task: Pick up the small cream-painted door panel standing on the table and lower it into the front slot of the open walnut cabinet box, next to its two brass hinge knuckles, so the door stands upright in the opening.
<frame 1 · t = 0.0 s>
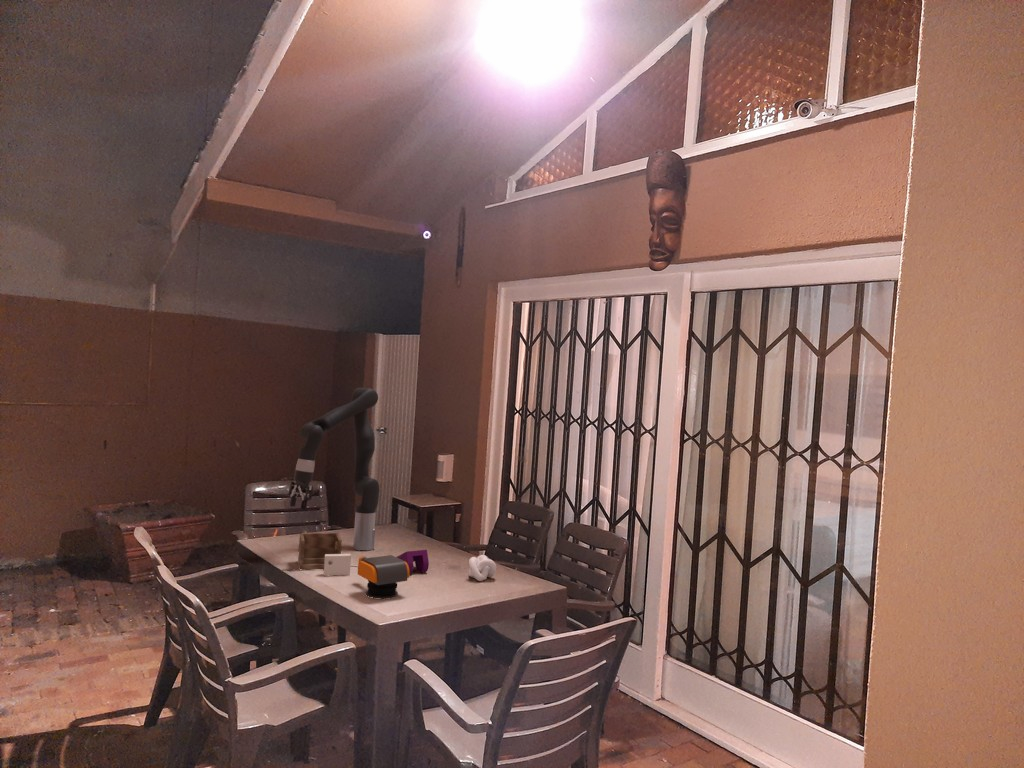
hand: (297, 507, 296), 22 cm above the table, tool pointing down, fingers open, 8 cm apart
door: (336, 574, 278), on the table
sander: (375, 590, 261), on the table
white knot: (479, 579, 285), on the table
cabinet: (318, 565, 290), on the table
mounting bracket: (408, 570, 293), on the table
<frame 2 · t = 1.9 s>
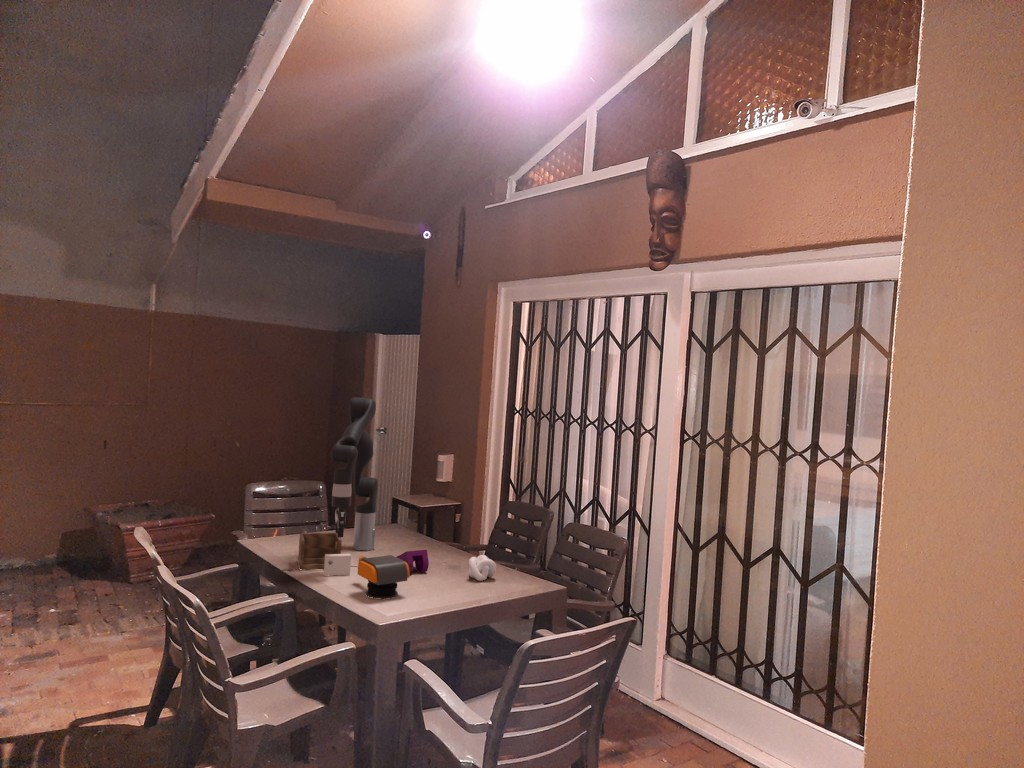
hand: (339, 534, 278), 16 cm above the table, tool pointing down, fingers open, 8 cm apart
nothing on the table moved.
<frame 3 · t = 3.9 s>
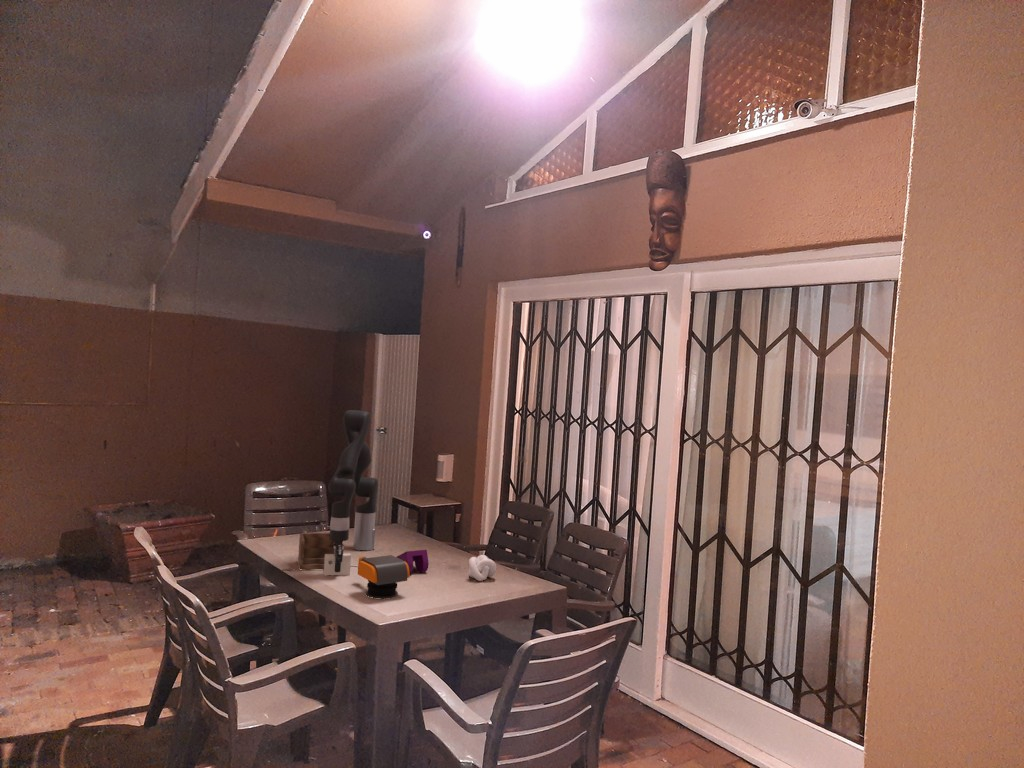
hand: (337, 570, 278), 2 cm above the table, tool pointing down, fingers closed on door, 3 cm apart
door: (336, 574, 278), on the table, touching gripper
everything else where it was.
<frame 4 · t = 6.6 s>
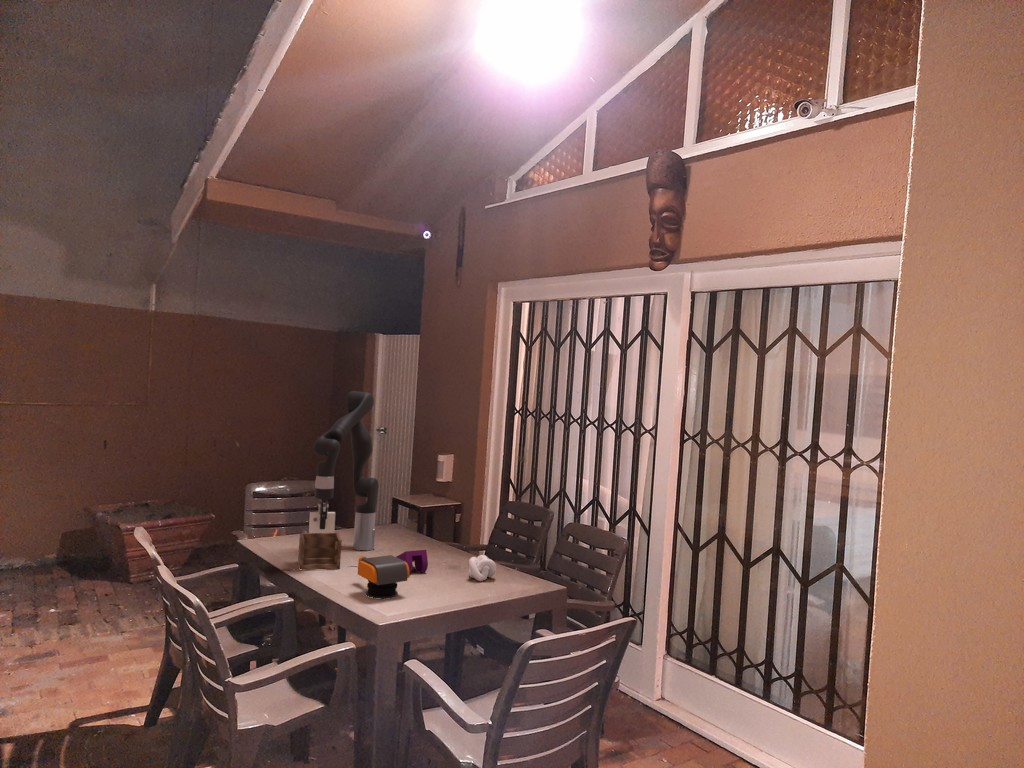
hand: (321, 528, 287), 16 cm above the table, tool pointing down, fingers closed on door, 3 cm apart
door: (321, 531, 287), point 15 cm above the table, touching gripper
everything else where it was.
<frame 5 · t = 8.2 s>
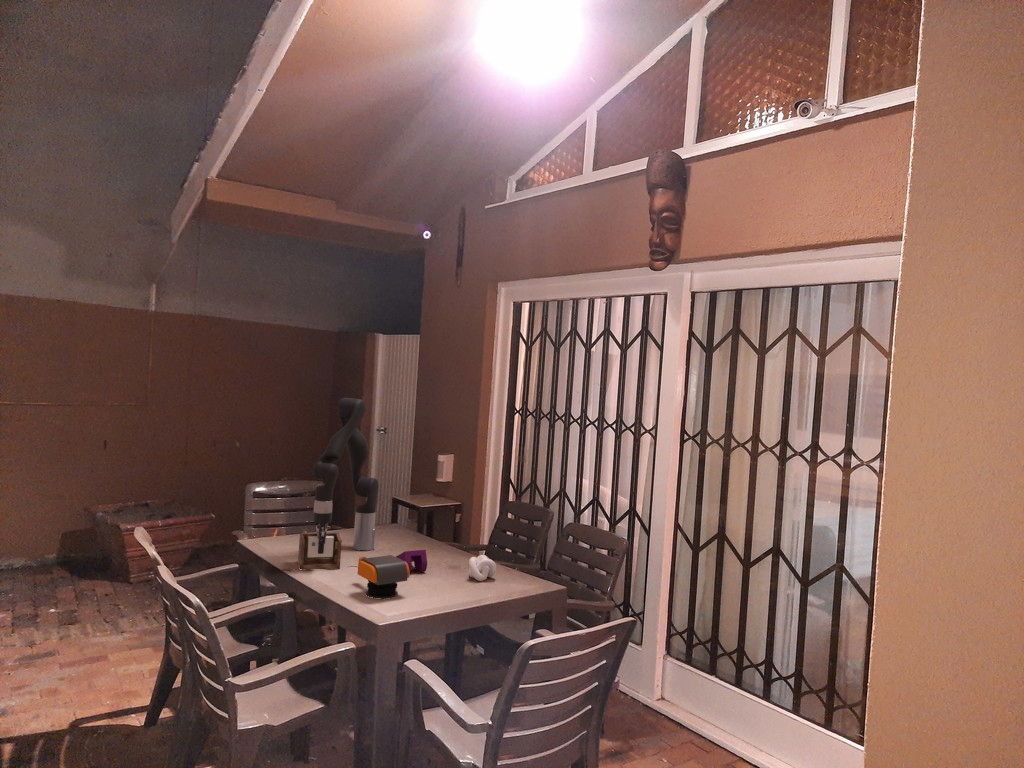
hand: (320, 552, 287), 6 cm above the table, tool pointing down, fingers closed on door, 3 cm apart
door: (319, 556, 287), point 5 cm above the table, touching gripper
everything else where it was.
when the fingers open (5 cm above the table, at t = 9.3 s): door drops 3 cm, resting in cabinet.
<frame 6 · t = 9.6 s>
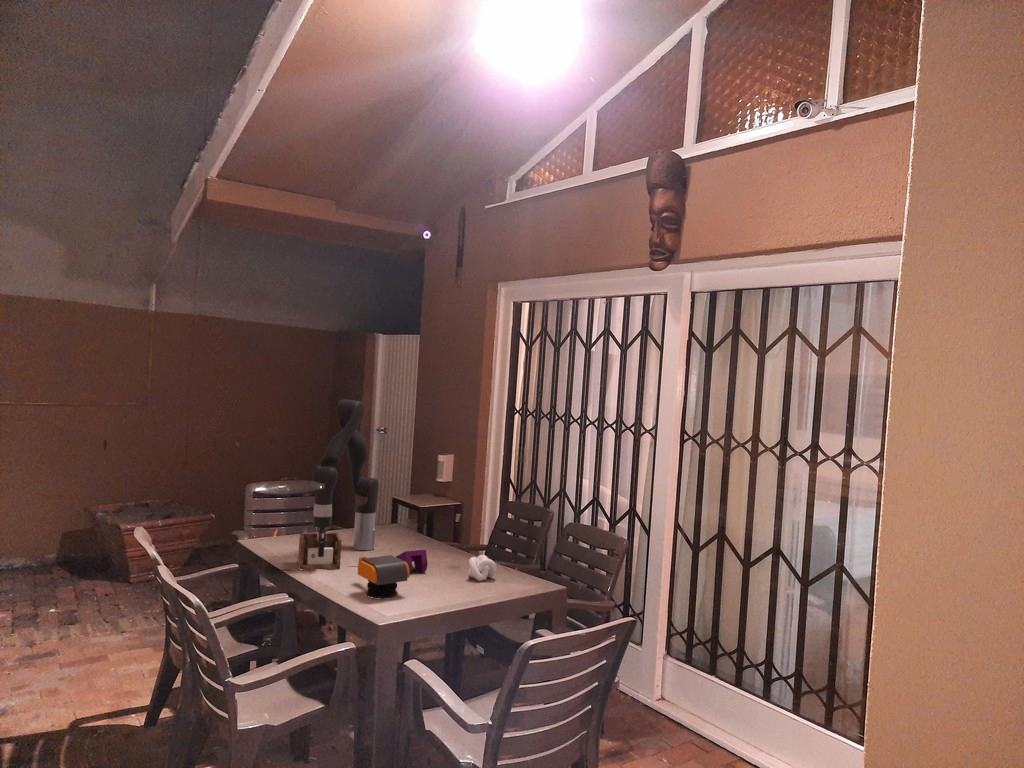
hand: (320, 554, 287), 5 cm above the table, tool pointing down, fingers open, 6 cm apart
door: (319, 567, 287), resting in cabinet
everything else where it was.
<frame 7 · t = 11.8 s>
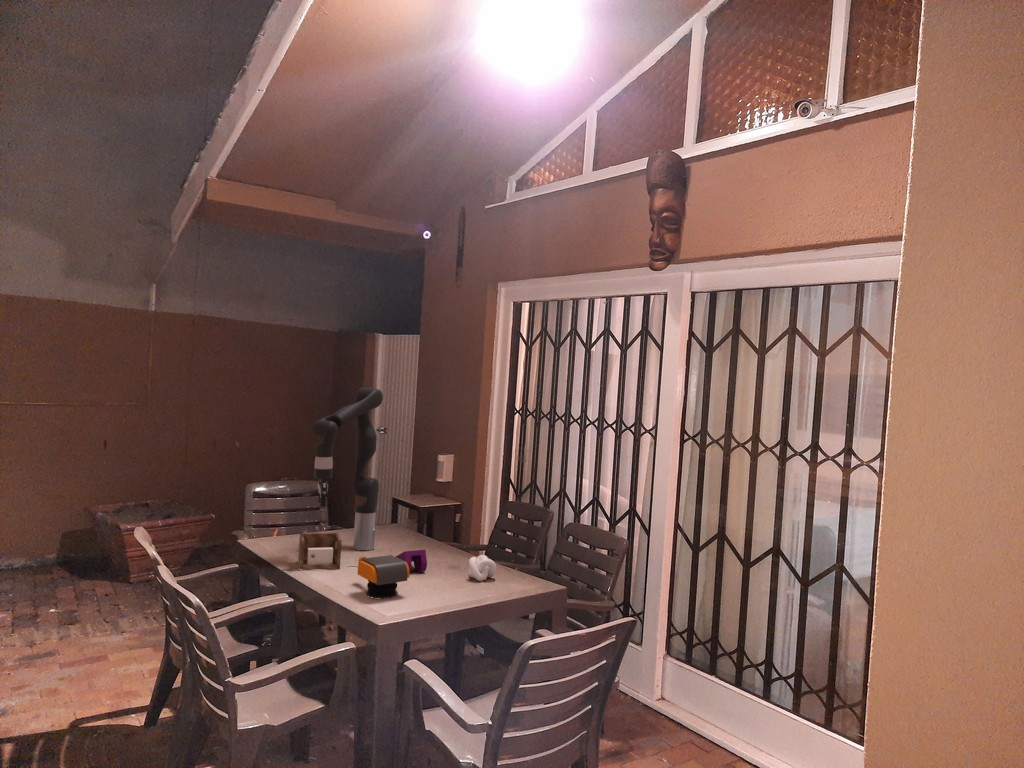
hand: (322, 504, 297), 24 cm above the table, tool pointing down, fingers open, 8 cm apart
nothing on the table moved.
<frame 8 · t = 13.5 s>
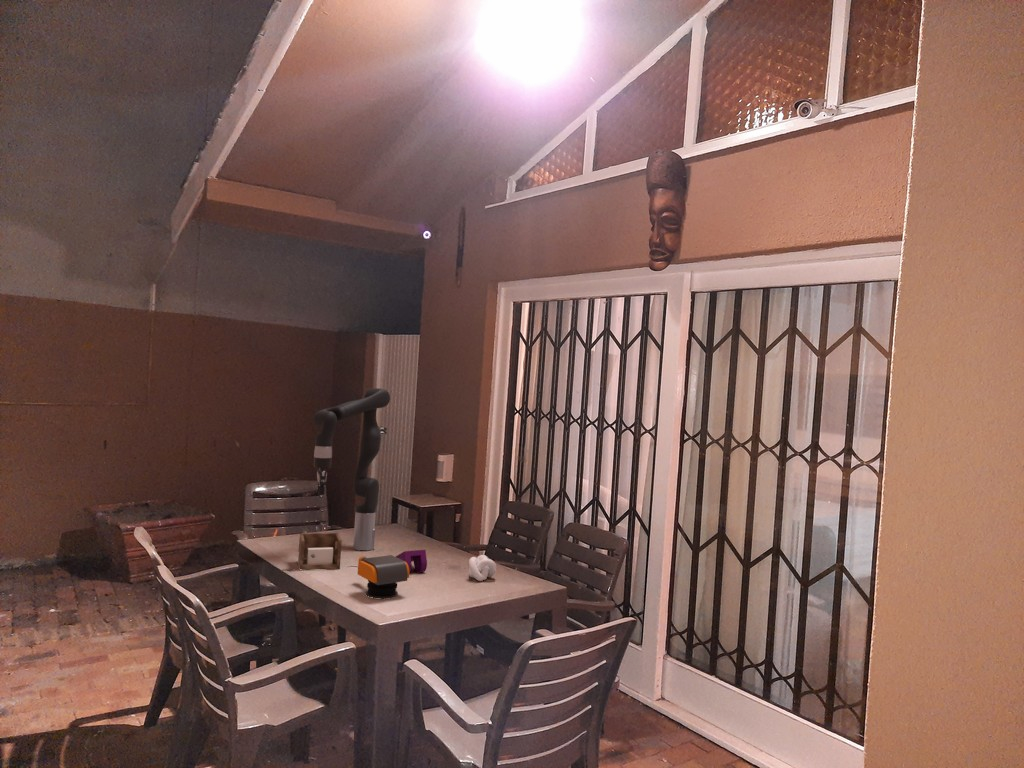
hand: (320, 493, 303), 28 cm above the table, tool pointing down, fingers open, 8 cm apart
nothing on the table moved.
at the end: door 0.2 cm from the target spot on the cabinet, point 0.0 cm above the cabinet's base; door tilted 0°; the gripper is holding nothing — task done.
